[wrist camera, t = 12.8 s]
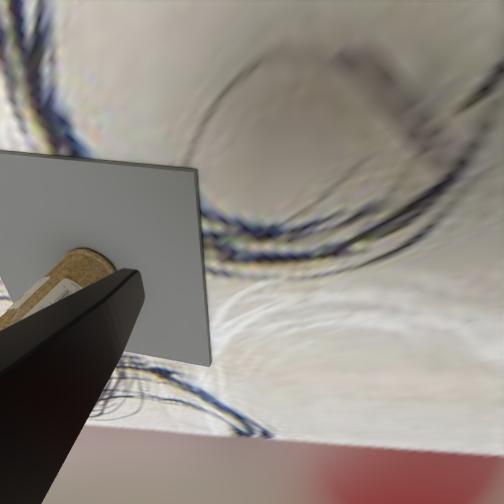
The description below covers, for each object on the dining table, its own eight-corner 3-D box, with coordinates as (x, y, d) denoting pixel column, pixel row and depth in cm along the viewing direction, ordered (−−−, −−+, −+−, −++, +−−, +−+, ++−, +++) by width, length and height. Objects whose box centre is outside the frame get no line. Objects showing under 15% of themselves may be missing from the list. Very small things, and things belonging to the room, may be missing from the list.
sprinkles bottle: (56, 246, 27) (-136, 409, 16) (109, 246, 26) (-59, 421, 15) (79, 293, 30) (-73, 461, 19) (129, 295, 28) (-3, 475, 18)
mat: (196, 169, 22) (193, 172, 21) (211, 362, 32) (209, 367, 32) (-57, 144, 25) (-64, 147, 24) (32, 329, 35) (28, 333, 34)
